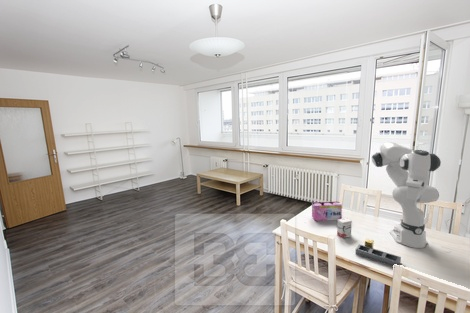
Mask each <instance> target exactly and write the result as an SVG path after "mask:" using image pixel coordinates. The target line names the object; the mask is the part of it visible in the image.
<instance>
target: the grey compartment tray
mask: <svg viewBox="0 0 470 313" xmlns="http://www.w3.org/2000/svg"><path fill="white" fill-rule="evenodd" d="M355 255H357V256H360V257H364V258H366V259H369V260H372V261H376V262H378V263H380V264H384V265H387V266H390V267H392V266H393V265H394V264H397V265H399V266H400V265H401V261H402V260H401V258H402V257H401V256H399V255H396V254H392V253H389V252H385V251H382V250H379V249H375V248H374V247H373V248H370V247H367V246H365V245H363V244H360V243H358V245H357V246H356V248H355Z"/></svg>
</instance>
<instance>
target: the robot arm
mask: <svg viewBox="0 0 470 313" xmlns="http://www.w3.org/2000/svg"><path fill="white" fill-rule="evenodd" d="M371 162H372V164H373V165H374V166H375V167H377V168H383V167H384V166H386V167H385V171H386V173H387V175H388V178H390V179H391V181H392V182H393V183H394V185H395V186H396V187H394V189H393V190H392V192H391V193H392V194H391V195H392V198H393V199H394V201H395V202H397V203H398V204H399V205H400V206H401V208H402V218H401V219H400V223H399V224H396V225H395V226H394V228H393V229H392V230H389V233H390V235H391V236H392V238H393V240H394V241H395V242H396V243H398V244H400V245H401V244H402V245H404V246H407V247H411V248H415V249H424V248H425V247H426V246H427V245H428V241H427V234H426V231H425V228H426V226H425V215H426V214H425V213H424V211H423V210H422V209H421V208H419V207H417V204H429V203H435V202H437V201H438V200H439V197H440V192H439V190H438V189H437V188H436V187H434V186H431V185H429V183H430V182H429V181H430V173H429V172H435V171H437V169H439V168H440V166H441V163H442V162H441V159H440V157H439V156H438V155H437V154H435V153H430V152H428V151H427V150H421V149H416V150H415V149H411V148H408V147H406V146H403V145H401V144H398V143H396V142H392V141H386V142H383V143H382V144H381V145H380V147H379V151H378V152H375V153H374V154H372V155H371Z"/></svg>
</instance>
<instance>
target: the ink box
mask: <svg viewBox="0 0 470 313" xmlns="http://www.w3.org/2000/svg"><path fill="white" fill-rule="evenodd" d="M352 222H353V221H352V220H351V219H349V218H347V217H345V218H342V219H339V220H337V225H336V227H337V229H336V230H337V232H336V233H337V234H336V235H337V236H338V237H340V238H346V237H351V236H352V224H353V223H352Z"/></svg>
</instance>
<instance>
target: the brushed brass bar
mask: <svg viewBox="0 0 470 313" xmlns="http://www.w3.org/2000/svg"><path fill="white" fill-rule="evenodd" d="M374 244H375V242H374V240H372V239H369V238H366V239H365V240H364V246H367V247H370V248H373V249H374Z"/></svg>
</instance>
